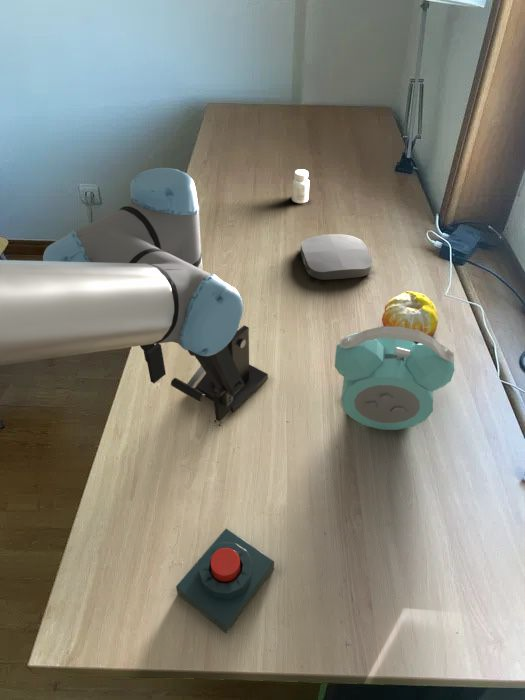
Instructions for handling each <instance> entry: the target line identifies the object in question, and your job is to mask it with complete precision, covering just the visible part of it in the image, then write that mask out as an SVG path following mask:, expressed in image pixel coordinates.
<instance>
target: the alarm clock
mask: <svg viewBox="0 0 525 700" xmlns="http://www.w3.org/2000/svg"><path fill="white" fill-rule="evenodd" d="M408 340H409V341H408ZM412 341H415V342H419V343H414V342H412ZM335 348H336V349H335V357H334V368H335V369H336V371H337V372H338V374H339V375H341V376H342V377H343V380H342V381H343V382H342V391H341V404H342V409H343V410H344V412H345V413H346V415H347V416H349V418H350V419H352V420H354V421H356V422H357V423H359V424H361V425H362V426H366V427H370V428H373V429H378V430H387V431H399V430H403V429H404V430H405V429H409V428H413V427H415V426H417V425H419V424H421V423H423V422H425V421H426V420H427V419H428V418H429V417H430V416H431V414H432V413H433V411H434V392H435V391H437V390H439V389H441V388H444V387H445V386H446V385H447V384H449V383H450V382H451V381H452V380H453V379H452V378H453V376H454V374H455V353H454V351H453V349H450V348H448V347H446V346H445V345H443V344H441V343H440V342H439V341H438V340H436V339H435V338H434V337H433V336H429V335H427V334H425V333H423V332H421V331H419V330H414V329H409V328H404V327H388V326H384V325H382V326H378V327H373V328H369V329H365V330H363V331H360V332H355V333H352V334H349V335H345V336H344V337H343V338H341V340H340V342H339V343H338V344H337V345H336V347H335Z"/></svg>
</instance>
